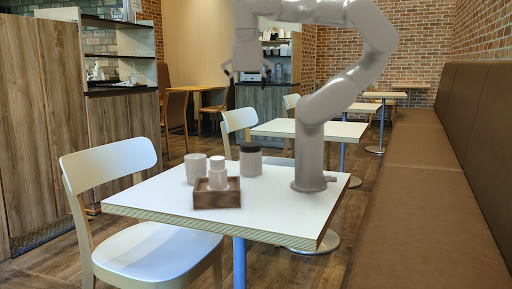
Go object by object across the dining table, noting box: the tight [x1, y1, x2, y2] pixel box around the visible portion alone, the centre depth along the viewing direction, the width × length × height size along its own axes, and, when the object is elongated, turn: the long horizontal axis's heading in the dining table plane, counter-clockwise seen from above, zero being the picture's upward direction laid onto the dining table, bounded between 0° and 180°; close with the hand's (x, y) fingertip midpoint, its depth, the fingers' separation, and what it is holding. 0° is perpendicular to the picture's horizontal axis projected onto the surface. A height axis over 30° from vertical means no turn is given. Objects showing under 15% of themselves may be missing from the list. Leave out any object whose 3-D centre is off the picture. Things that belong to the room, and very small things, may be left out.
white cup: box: [183, 152, 208, 187], centre depth 129 cm, size 8×8×10 cm
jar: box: [238, 141, 263, 179], centre depth 138 cm, size 9×8×12 cm
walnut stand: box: [191, 175, 242, 211], centre depth 112 cm, size 14×14×6 cm
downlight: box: [207, 155, 230, 190], centre depth 111 cm, size 8×7×10 cm
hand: (247, 90), depth 118 cm, fingers open, 9 cm apart
